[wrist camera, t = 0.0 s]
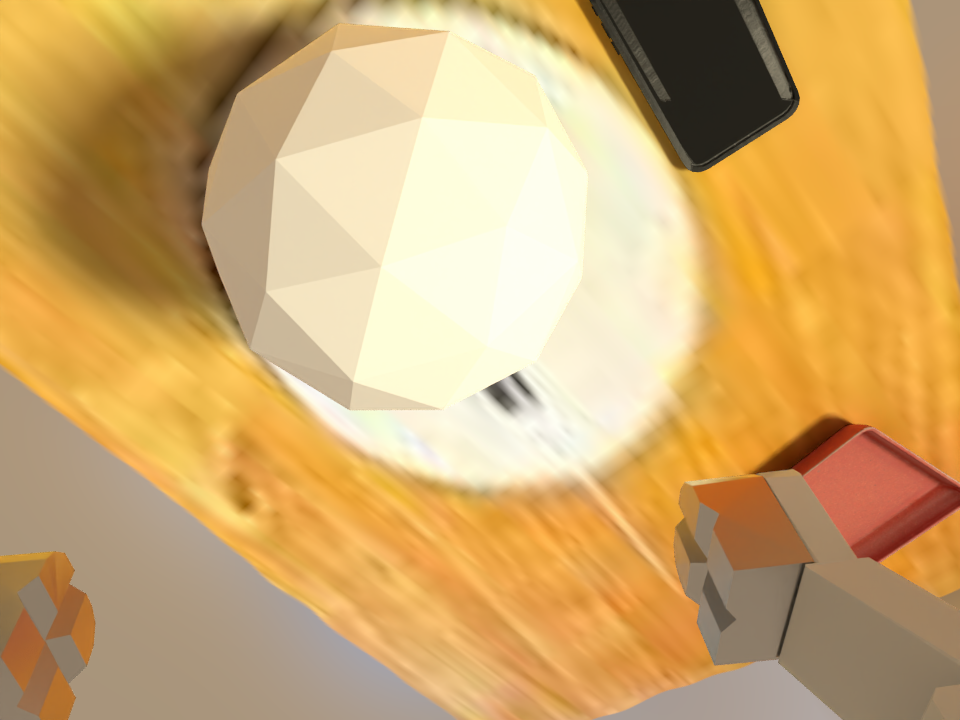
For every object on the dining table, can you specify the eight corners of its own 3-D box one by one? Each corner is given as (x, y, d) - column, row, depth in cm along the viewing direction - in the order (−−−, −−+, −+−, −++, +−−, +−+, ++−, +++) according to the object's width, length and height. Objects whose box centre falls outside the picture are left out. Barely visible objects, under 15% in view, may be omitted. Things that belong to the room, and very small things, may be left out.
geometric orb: (316, 124, 53) (48, 199, 38) (538, -72, 41) (272, -77, 25) (458, 361, 56) (261, 522, 41) (708, 246, 43) (559, 416, 28)
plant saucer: (851, 399, 67) (871, 426, 65) (961, 471, 75) (981, 497, 73) (699, 519, 76) (711, 547, 73) (812, 571, 84) (826, 598, 81)
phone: (706, -122, 40) (805, 107, 48) (699, -125, 41) (797, 101, 49) (575, -22, 42) (691, 180, 51) (570, -27, 43) (685, 172, 52)
